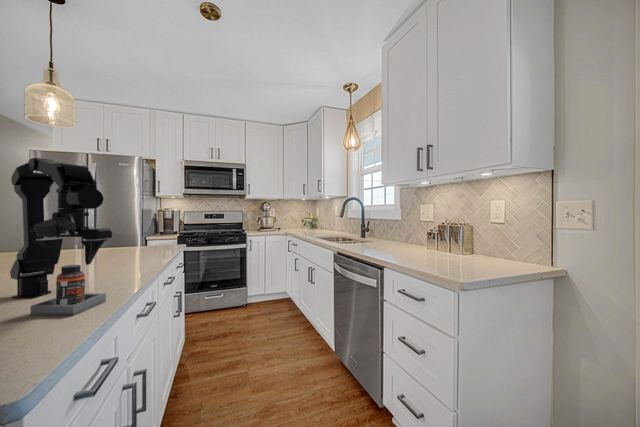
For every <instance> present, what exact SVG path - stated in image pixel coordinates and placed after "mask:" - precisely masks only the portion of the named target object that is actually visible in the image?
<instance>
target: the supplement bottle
mask: <svg viewBox="0 0 640 427" xmlns="http://www.w3.org/2000/svg"><path fill="white" fill-rule="evenodd" d="M81 269H82V268H81V264H68V265H64V266H61V272H60V273H59V274H58V275H57V276H56V281H55V282H56V284H55V287H56V290H55V296H56V297H55V298H56V305H74V304H77V303H79V302H82V301H84V300H85V293H86V292H85V288H86V277H85V276H86V275H85V272H83V271H81Z"/></svg>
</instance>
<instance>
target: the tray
mask: <svg viewBox="0 0 640 427" xmlns="http://www.w3.org/2000/svg"><path fill="white" fill-rule="evenodd" d="M106 302H107V293H104V292H103V293H99V292H97V293H95V292H94V293H90V292H89V293H88V292H87V293H86V292H85V300H84V301H82V302H79V303H77V304H74V305H56V297H53V298H51V299H47V300H43V301H42V302H38V303H34V304H32V305H30V316H35V317H36V316H37V317H38V316H39V317H40V316H41V317H42V316H43V317H44V316H45V317H47V316H48V317H49V316H54V317H56V316H57V317H58V316H59V317H60V316H61V317H62V316H63V317H64V316H66V317H71V316H72V317H74V316H76V315H78V314H79V315H80V313H83V312H85V311H87V310H90V309H93V308H95V307H96V306H99V305H101V304H103V303H106Z"/></svg>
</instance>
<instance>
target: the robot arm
mask: <svg viewBox="0 0 640 427" xmlns="http://www.w3.org/2000/svg"><path fill="white" fill-rule="evenodd" d="M92 174H93V173H92V172H91V171H90V170H89V167H88V166H86V165H79V164H72V163H71V164H70V163H63V162H57V161H54V160H52V159H48V158H42V157H41V158H40V157H31V158H30V159H29V160H28V162H26V163H24V164H21V165H20V166H16V168H15V169H14V171H13V173H12V175H11V178H10V180H11V182H10V183H11V186H13V189H14V192H15V193H16V194H17V196H18V197H19V198H20V199H21V200H22V222H23V223H22V228H23V246H22V247H21V248H20V250H19V251H18V252H17V254H16V259H15V261H14V263H12V264H13V265H12V266H11V269H10V271H9V273H10V279H13V280H16V281H17V283H16V285H17V290H16V291H17V294H16V295H12V296H11V298H12V299H33V298H36V297H37V298H38V297H40V296H43V295H47V294H51V293H52V292H53V291H52V290H49V279H48V275H53V274H54V272H55V267H56V265H58V263H59V260H60V257H61V251H62V245H63V242H64V241H63V240H64V238H82V239H84V240H81V241H80V242H81V243H82V244H83V246H84V261H85V265H86V266H87V265H91V264H92V262H93V260H94V259H95V256H96V255H97V253H98V251H99V249H101V247H102V245H104V243H105V242H107V241H108V239H111V238H113V231H112V230H111V229H110V228H104V227H102V228H101V227H99V228H97V227H96V228H90V226H86V217H89V216H90V212H86V210H93V209H98V208H99V207H100V206H102V205H103V202H104V196H103V193H102V192H101V191H100V190H99V189H98V187H97V185H98V184H97V182H96V180H95V179H94V177H93V175H92ZM54 183H55V184H56V185H57V186H58V188H57V189H56V190H55V193H57V212H53V213H52V215H51V218H50V219H46V220H45V207H44V204H45V203H44V199H45V198H46V197H47V196H48V195H49V193H50V192H51V187H52V185H53V184H54ZM67 232H68V233H67ZM60 237H61V238H60Z"/></svg>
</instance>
